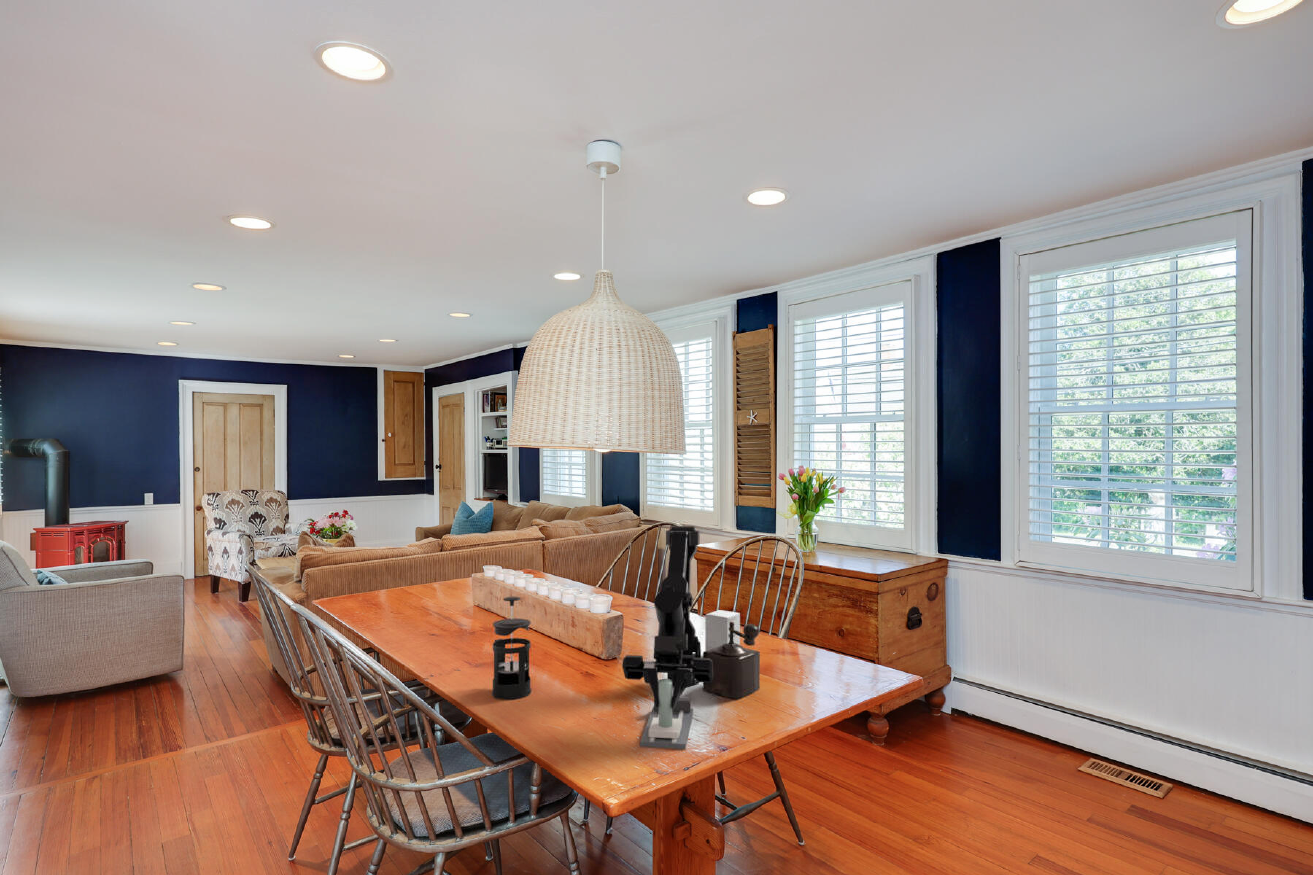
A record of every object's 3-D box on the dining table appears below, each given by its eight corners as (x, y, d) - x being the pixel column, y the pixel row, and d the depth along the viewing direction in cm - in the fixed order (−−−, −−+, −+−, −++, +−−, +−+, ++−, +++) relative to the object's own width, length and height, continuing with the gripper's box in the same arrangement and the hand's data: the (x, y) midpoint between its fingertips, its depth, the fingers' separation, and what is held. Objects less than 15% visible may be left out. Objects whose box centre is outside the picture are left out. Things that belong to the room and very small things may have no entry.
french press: (540, 693, 167) (540, 597, 168) (507, 703, 161) (507, 603, 161) (513, 682, 176) (513, 590, 176) (480, 691, 169) (480, 596, 169)
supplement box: (727, 663, 190) (727, 617, 191) (704, 658, 195) (704, 613, 195) (740, 657, 196) (740, 612, 197) (718, 652, 201) (718, 608, 201)
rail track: (653, 710, 156) (653, 695, 156) (693, 712, 155) (693, 696, 155) (640, 746, 137) (640, 728, 137) (685, 749, 136) (685, 731, 136)
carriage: (653, 723, 145) (653, 674, 145) (681, 724, 144) (681, 676, 144) (648, 736, 138) (648, 686, 138) (678, 738, 137) (678, 687, 138)
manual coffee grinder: (699, 691, 169) (699, 616, 169) (726, 679, 177) (726, 609, 178) (753, 706, 159) (753, 627, 159) (779, 693, 167) (778, 618, 167)
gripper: (623, 616, 147) (613, 687, 136) (712, 619, 144) (709, 691, 133) (630, 644, 154) (621, 712, 143) (714, 647, 152) (711, 717, 141)
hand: (664, 707), depth 140 cm, fingers closed on carriage, 3 cm apart
